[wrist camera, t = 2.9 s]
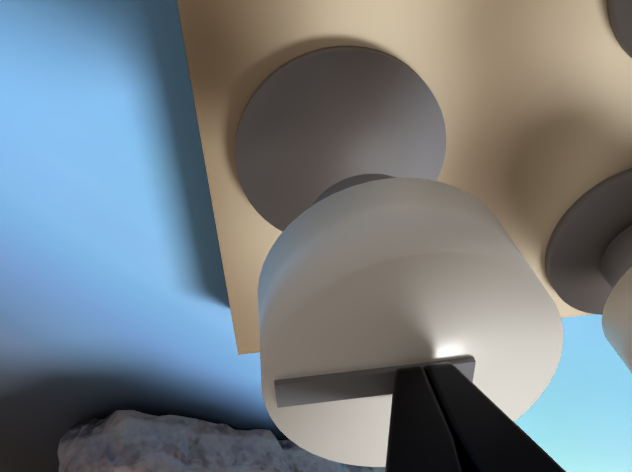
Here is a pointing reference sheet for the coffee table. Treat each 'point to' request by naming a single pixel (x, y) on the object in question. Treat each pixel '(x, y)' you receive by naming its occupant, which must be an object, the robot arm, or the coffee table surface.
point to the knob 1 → (395, 311)
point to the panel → (417, 121)
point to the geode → (183, 447)
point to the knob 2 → (619, 295)
